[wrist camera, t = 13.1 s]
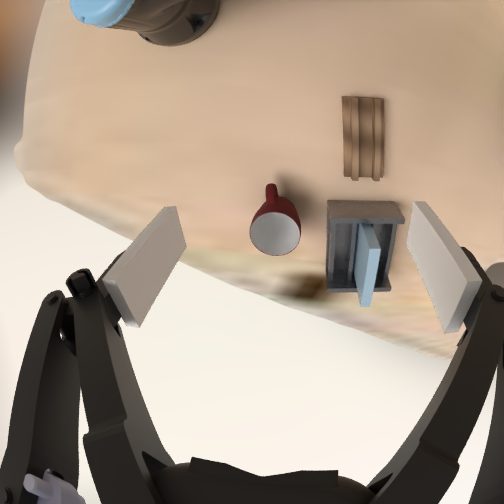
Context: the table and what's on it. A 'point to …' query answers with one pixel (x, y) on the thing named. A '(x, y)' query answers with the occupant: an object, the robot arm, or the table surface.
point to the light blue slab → (365, 262)
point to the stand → (363, 137)
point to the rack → (344, 237)
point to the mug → (275, 225)
